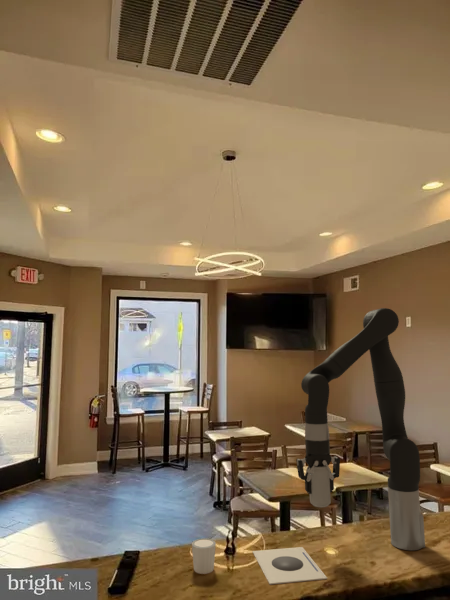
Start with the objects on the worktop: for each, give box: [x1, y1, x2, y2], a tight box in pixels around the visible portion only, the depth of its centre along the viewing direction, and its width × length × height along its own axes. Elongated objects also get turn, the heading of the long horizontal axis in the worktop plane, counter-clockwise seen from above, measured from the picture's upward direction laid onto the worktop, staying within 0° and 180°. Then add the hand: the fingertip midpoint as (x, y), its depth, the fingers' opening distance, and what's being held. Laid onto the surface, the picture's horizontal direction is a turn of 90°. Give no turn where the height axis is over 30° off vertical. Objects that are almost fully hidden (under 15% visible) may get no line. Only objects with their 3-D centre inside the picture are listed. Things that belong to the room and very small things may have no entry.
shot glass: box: [191, 538, 217, 575], centre depth 127 cm, size 7×7×7 cm
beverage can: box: [309, 466, 332, 508], centre depth 140 cm, size 6×6×12 cm
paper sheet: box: [252, 546, 328, 585], centre depth 129 cm, size 16×20×1 cm
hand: (319, 492), depth 140 cm, fingers closed on beverage can, 6 cm apart
